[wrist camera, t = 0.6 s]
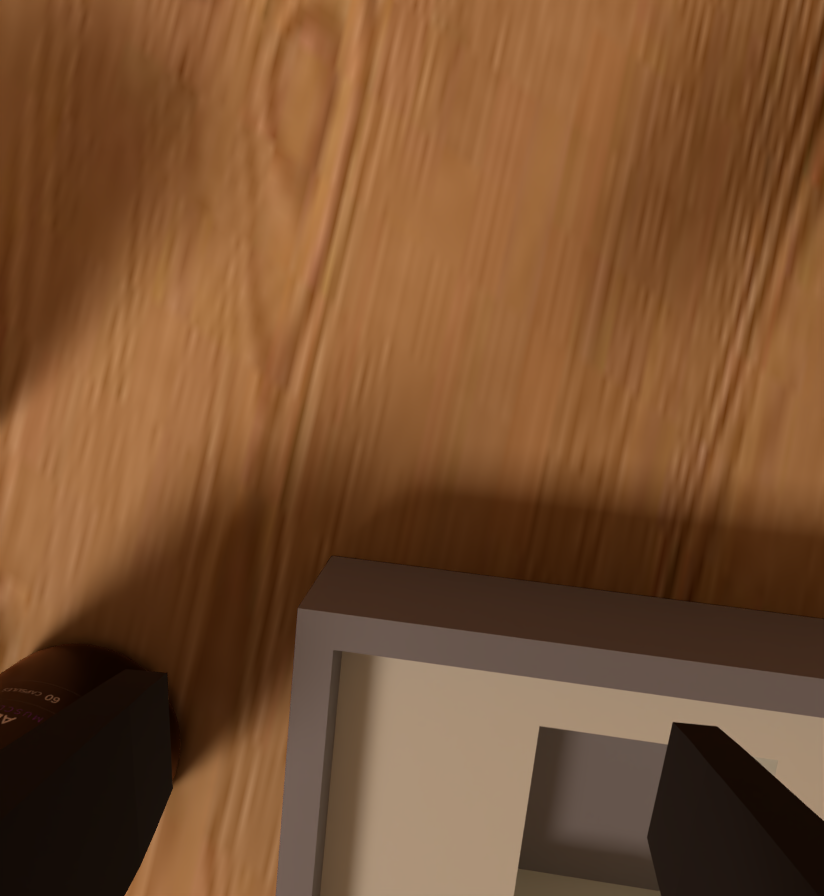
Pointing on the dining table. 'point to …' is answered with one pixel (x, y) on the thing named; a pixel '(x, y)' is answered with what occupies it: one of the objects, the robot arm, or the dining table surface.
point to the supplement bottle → (61, 688)
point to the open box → (517, 728)
